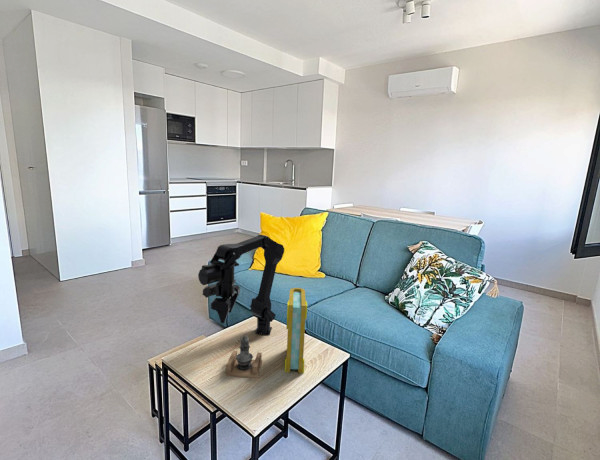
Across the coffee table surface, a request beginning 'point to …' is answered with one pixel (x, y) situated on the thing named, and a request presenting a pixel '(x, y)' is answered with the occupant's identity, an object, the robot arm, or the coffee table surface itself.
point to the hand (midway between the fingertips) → (226, 317)
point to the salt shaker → (244, 355)
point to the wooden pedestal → (233, 371)
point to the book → (296, 330)
